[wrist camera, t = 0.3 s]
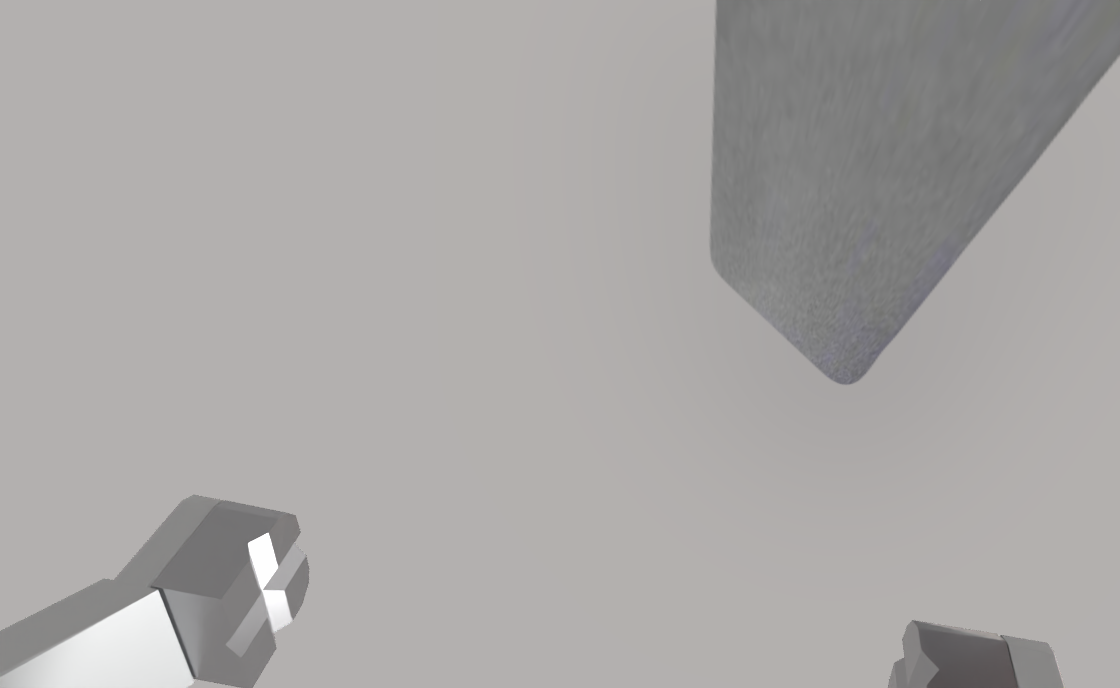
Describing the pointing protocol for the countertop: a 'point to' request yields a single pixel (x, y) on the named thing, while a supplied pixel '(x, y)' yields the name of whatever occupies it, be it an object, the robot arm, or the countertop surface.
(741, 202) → the countertop surface
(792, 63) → the countertop surface
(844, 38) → the countertop surface
